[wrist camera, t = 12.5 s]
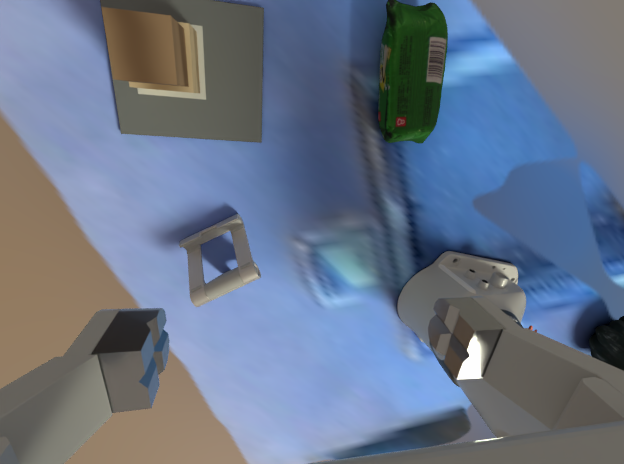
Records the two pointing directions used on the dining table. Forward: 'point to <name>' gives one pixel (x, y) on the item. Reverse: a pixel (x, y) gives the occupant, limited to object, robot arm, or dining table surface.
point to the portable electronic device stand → (229, 279)
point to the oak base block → (191, 66)
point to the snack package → (411, 71)
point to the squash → (609, 343)
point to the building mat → (202, 75)
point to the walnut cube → (146, 47)
